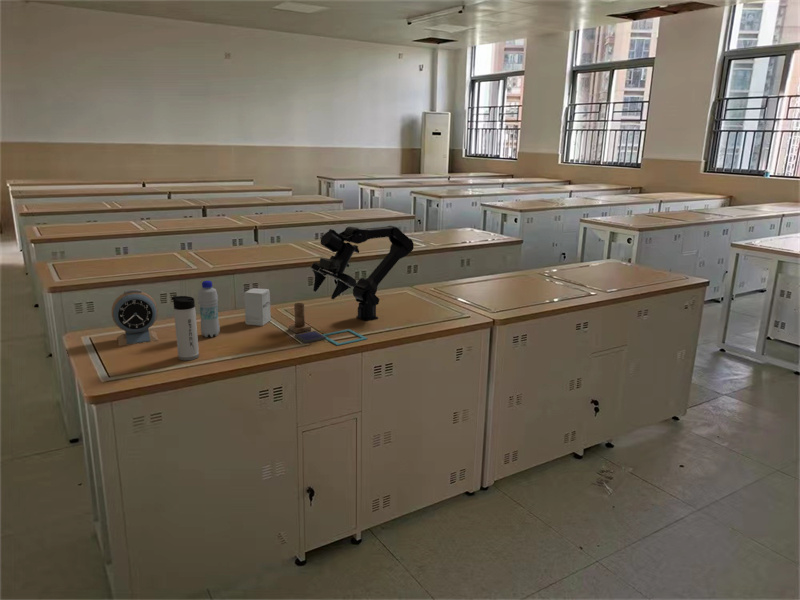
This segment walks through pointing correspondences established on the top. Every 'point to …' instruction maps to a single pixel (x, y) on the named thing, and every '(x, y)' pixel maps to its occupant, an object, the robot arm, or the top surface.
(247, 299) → the supplement box
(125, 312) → the alarm clock
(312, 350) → the top surface
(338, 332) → the frame
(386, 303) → the top surface
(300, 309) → the stamp
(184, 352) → the travel mug
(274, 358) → the top surface
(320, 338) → the ink pad
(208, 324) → the bottle
